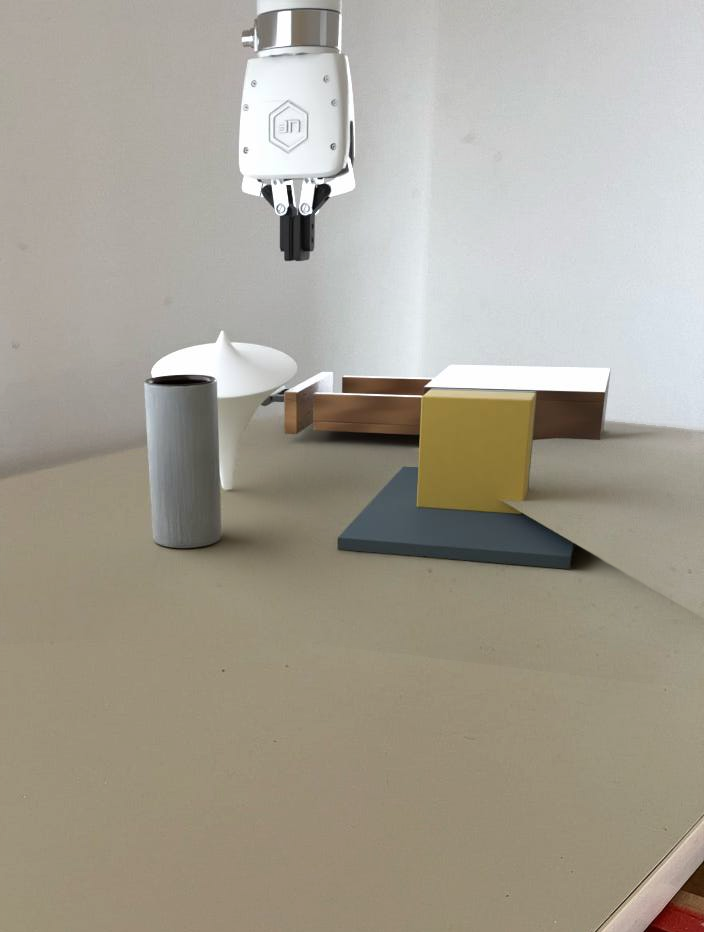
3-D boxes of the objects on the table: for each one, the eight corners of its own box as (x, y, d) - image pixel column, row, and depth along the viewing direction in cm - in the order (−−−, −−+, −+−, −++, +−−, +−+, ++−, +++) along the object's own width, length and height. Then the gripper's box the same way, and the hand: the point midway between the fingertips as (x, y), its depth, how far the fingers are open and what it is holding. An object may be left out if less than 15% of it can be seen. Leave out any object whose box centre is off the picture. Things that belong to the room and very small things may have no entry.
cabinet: (420, 452, 90) (423, 386, 88) (447, 422, 101) (450, 364, 99) (597, 460, 85) (605, 392, 83) (603, 429, 96) (610, 368, 94)
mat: (402, 476, 82) (403, 466, 82) (587, 486, 77) (588, 476, 77) (337, 549, 65) (337, 537, 64) (569, 569, 60) (571, 556, 60)
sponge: (416, 507, 70) (421, 396, 67) (426, 494, 73) (431, 388, 70) (521, 514, 68) (531, 400, 65) (527, 501, 71) (537, 391, 68)
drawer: (244, 431, 96) (243, 390, 94) (285, 408, 106) (284, 370, 105) (431, 440, 90) (433, 396, 88) (454, 415, 100) (457, 375, 99)
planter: (221, 548, 66) (216, 384, 62) (150, 550, 66) (140, 386, 62) (222, 528, 70) (217, 373, 66) (155, 529, 70) (147, 375, 66)
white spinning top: (300, 505, 74) (300, 334, 70) (152, 508, 75) (142, 338, 70) (294, 472, 84) (294, 319, 79) (163, 475, 84) (155, 323, 80)
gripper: (205, 41, 91) (210, 262, 98) (371, 28, 86) (364, 262, 93) (234, 51, 97) (237, 258, 104) (391, 40, 92) (382, 258, 99)
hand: (297, 259), depth 98 cm, fingers closed
